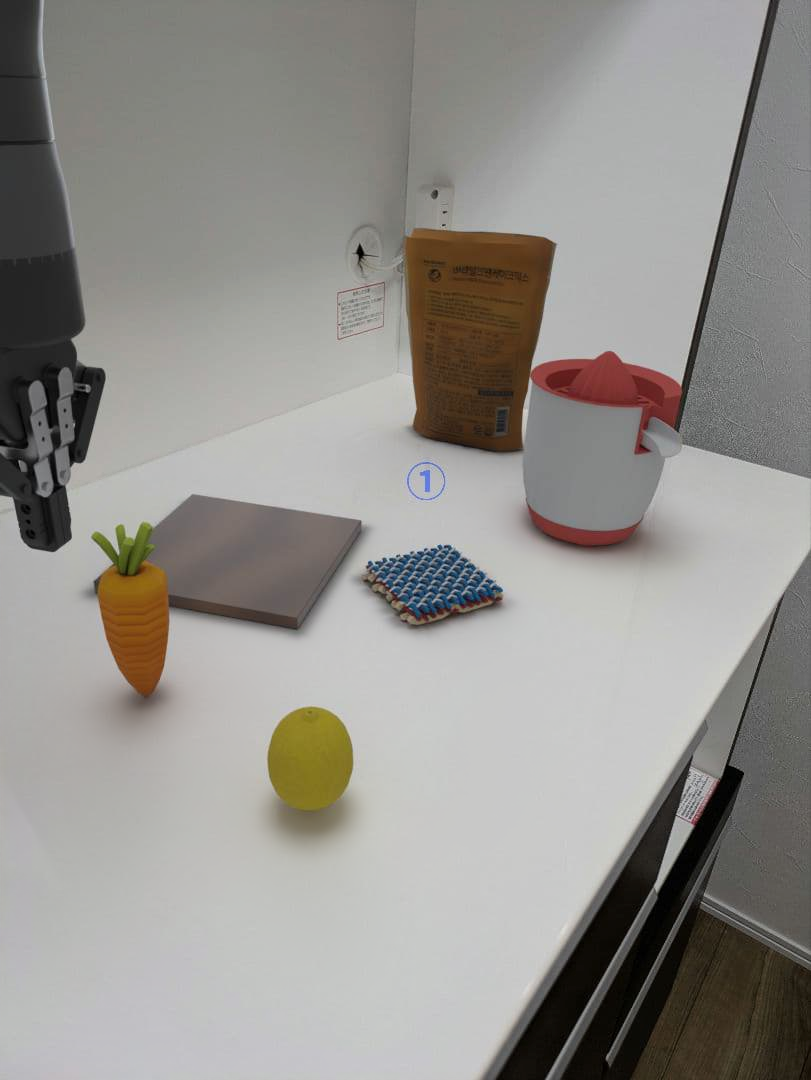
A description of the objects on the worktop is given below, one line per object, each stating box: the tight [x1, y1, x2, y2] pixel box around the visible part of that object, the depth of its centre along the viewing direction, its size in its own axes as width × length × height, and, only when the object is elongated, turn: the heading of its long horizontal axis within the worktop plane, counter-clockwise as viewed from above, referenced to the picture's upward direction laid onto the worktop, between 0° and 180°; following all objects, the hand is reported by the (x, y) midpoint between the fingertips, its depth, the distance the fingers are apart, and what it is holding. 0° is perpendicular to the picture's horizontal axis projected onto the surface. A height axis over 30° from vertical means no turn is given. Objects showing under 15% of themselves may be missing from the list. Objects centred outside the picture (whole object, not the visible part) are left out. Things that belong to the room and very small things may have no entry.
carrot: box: [90, 521, 170, 697], centre depth 61 cm, size 5×5×15 cm
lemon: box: [267, 706, 354, 812], centre depth 54 cm, size 6×6×8 cm
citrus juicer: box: [522, 350, 683, 547], centre depth 89 cm, size 16×17×20 cm
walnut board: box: [93, 493, 363, 630], centre depth 84 cm, size 20×20×1 cm
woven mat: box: [361, 543, 504, 626], centre depth 80 cm, size 10×11×2 cm
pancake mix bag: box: [401, 227, 558, 453], centre depth 109 cm, size 7×19×28 cm, turn 67°
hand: (49, 544), depth 49 cm, fingers closed
